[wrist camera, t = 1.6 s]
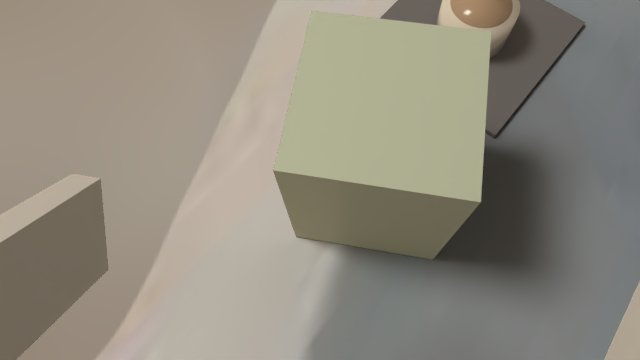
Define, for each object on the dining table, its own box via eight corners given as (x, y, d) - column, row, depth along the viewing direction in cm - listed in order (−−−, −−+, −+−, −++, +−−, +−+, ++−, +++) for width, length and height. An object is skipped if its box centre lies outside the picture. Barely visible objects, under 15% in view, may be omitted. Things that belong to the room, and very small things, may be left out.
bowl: (493, 0, 41) (506, -32, 38) (515, 55, 39) (531, 26, 36) (426, 11, 41) (434, -20, 38) (444, 67, 39) (454, 39, 36)
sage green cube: (444, 136, 37) (491, 31, 25) (432, 259, 33) (480, 202, 22) (320, 118, 38) (311, 10, 26) (295, 236, 34) (273, 170, 23)
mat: (447, -49, 44) (448, -52, 44) (583, 25, 40) (585, 22, 40) (354, 46, 40) (355, 43, 40) (493, 137, 37) (495, 135, 36)
